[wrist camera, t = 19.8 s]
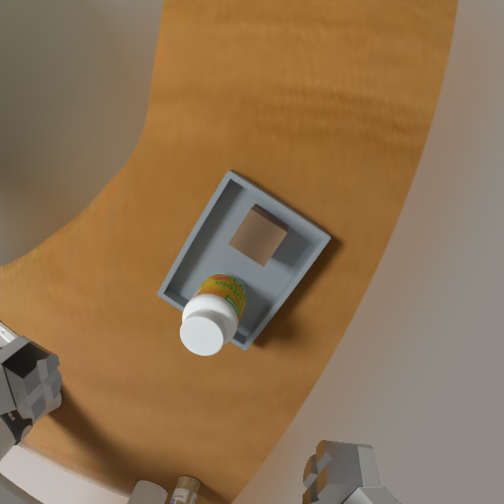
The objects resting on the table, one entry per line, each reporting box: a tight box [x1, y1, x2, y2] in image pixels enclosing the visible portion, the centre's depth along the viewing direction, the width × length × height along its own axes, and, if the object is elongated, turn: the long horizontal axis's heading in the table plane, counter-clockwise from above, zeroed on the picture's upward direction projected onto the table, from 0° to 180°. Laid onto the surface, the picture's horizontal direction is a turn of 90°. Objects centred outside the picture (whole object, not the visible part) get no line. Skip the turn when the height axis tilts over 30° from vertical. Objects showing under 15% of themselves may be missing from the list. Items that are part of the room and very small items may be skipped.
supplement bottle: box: [180, 273, 247, 356], centre depth 31 cm, size 5×5×10 cm
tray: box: [157, 170, 331, 351], centre depth 34 cm, size 12×16×2 cm
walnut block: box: [228, 204, 288, 267], centre depth 31 cm, size 4×4×4 cm
